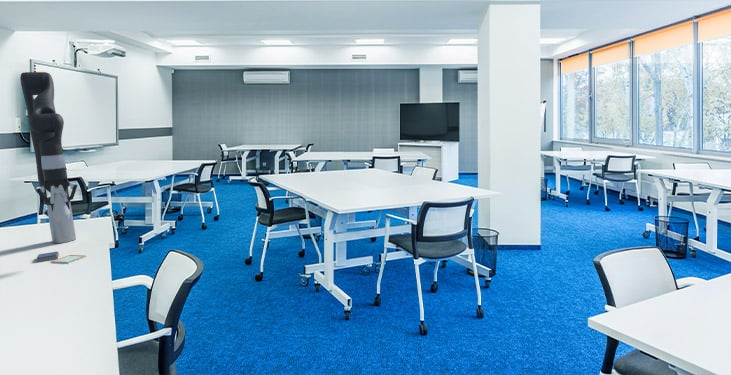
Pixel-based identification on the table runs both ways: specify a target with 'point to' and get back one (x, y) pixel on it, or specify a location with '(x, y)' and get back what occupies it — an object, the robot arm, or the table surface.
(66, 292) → the table surface
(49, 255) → the ink pad
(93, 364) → the table surface
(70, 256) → the marked square
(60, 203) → the salt shaker
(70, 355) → the table surface
